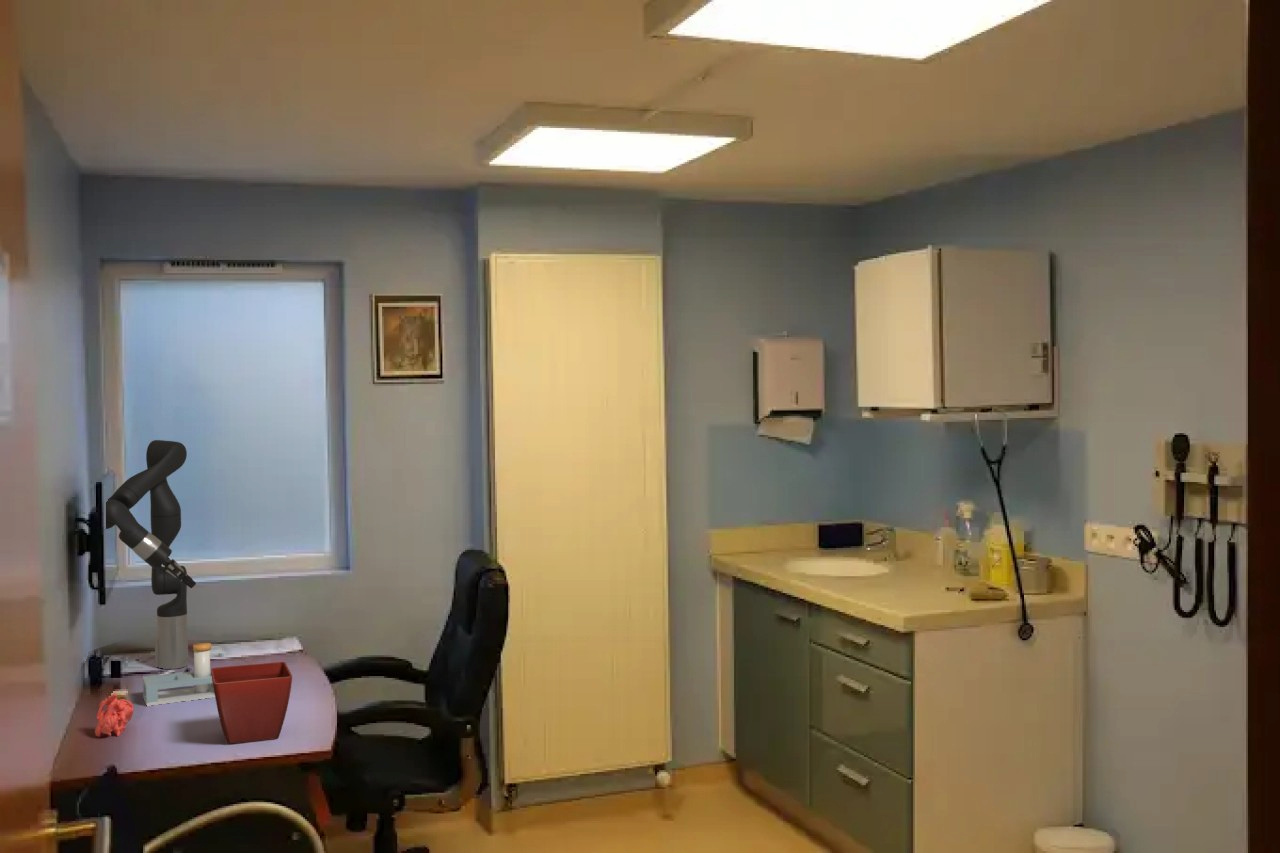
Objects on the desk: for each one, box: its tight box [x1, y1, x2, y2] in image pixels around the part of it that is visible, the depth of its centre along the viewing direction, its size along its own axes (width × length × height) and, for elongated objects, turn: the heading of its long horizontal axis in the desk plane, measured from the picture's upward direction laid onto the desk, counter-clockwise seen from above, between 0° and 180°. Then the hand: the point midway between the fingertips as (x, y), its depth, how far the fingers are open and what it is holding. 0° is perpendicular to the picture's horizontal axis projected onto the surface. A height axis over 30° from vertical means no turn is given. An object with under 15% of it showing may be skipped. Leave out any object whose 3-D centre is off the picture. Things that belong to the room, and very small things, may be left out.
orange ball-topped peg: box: [192, 642, 212, 693], centre depth 344 cm, size 5×5×14 cm
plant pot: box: [210, 661, 293, 744], centre depth 302 cm, size 19×19×17 cm
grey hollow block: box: [142, 668, 215, 707], centre depth 342 cm, size 22×12×6 cm, turn 118°
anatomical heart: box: [94, 692, 134, 738], centre depth 305 cm, size 9×12×12 cm
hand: (192, 584), depth 360 cm, fingers open, 8 cm apart
